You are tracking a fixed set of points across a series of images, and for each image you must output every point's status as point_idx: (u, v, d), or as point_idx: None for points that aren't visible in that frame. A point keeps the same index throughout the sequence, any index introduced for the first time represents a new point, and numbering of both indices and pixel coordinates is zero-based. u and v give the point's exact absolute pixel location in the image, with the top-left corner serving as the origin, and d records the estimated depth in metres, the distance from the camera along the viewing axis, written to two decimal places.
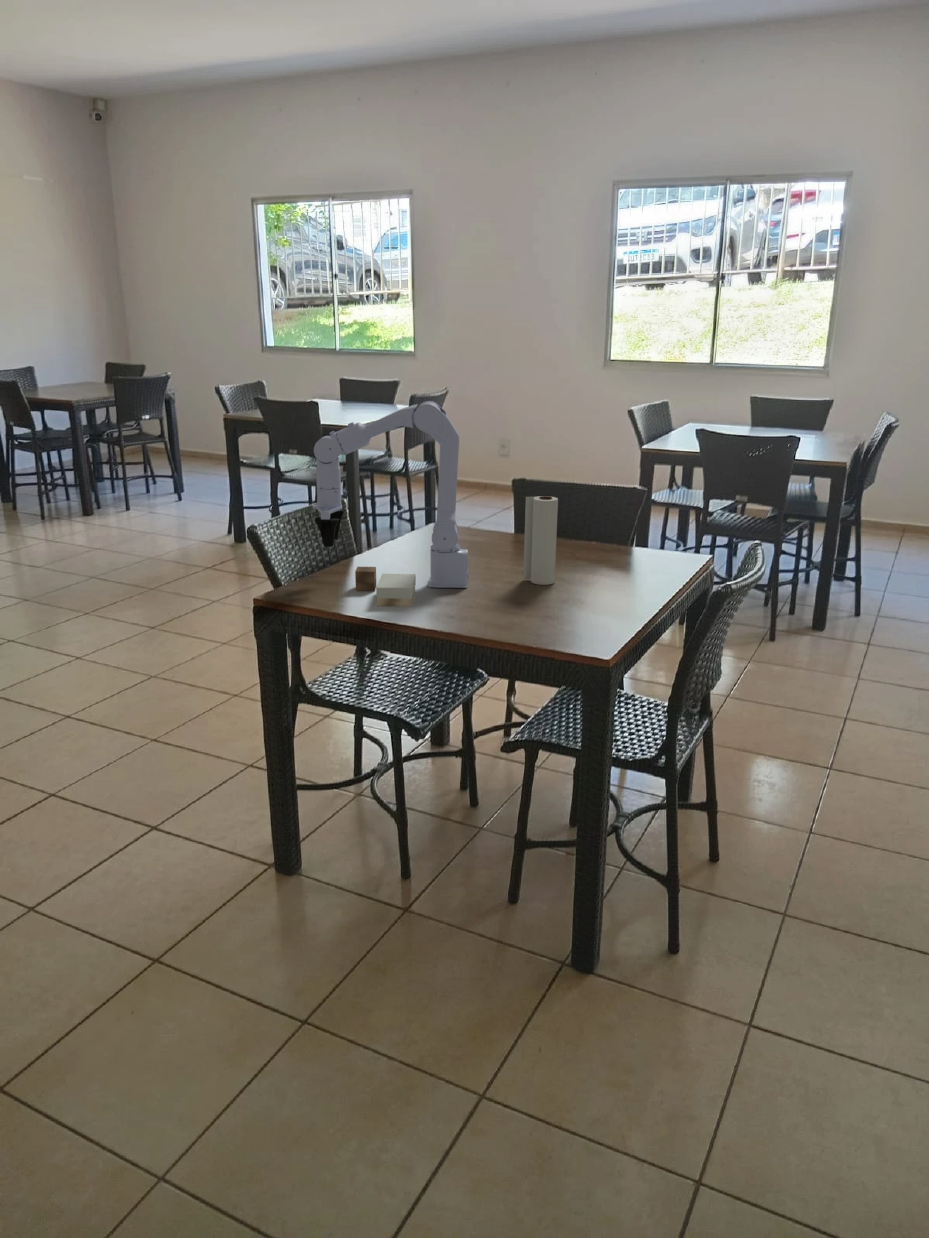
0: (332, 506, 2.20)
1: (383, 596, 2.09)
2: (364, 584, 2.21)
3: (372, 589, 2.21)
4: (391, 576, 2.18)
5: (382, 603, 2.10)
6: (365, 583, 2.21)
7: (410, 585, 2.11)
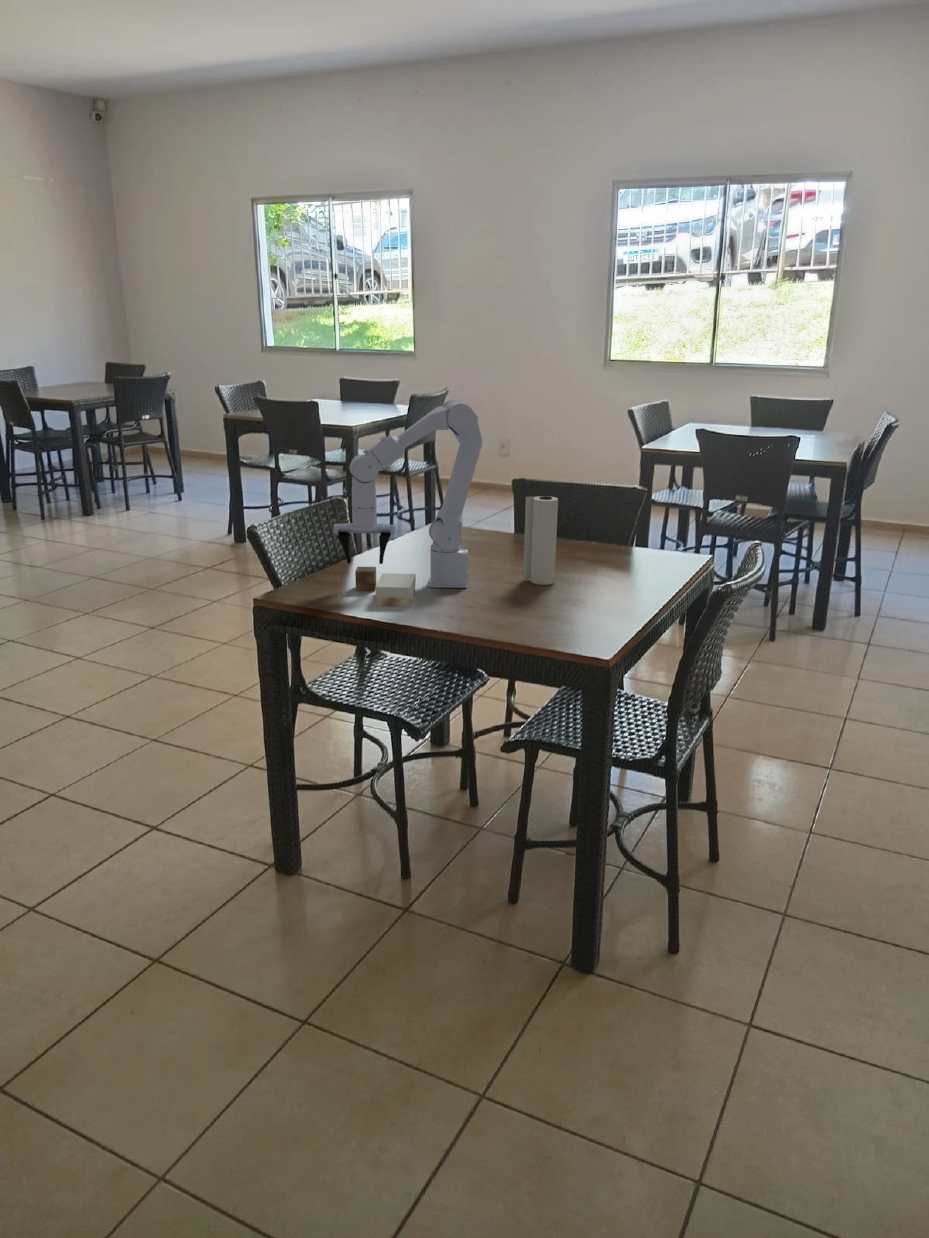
0: (353, 524, 2.17)
1: (382, 595, 2.09)
2: (364, 584, 2.21)
3: (372, 589, 2.21)
4: (391, 575, 2.18)
5: (382, 602, 2.10)
6: (365, 583, 2.21)
7: (409, 585, 2.11)
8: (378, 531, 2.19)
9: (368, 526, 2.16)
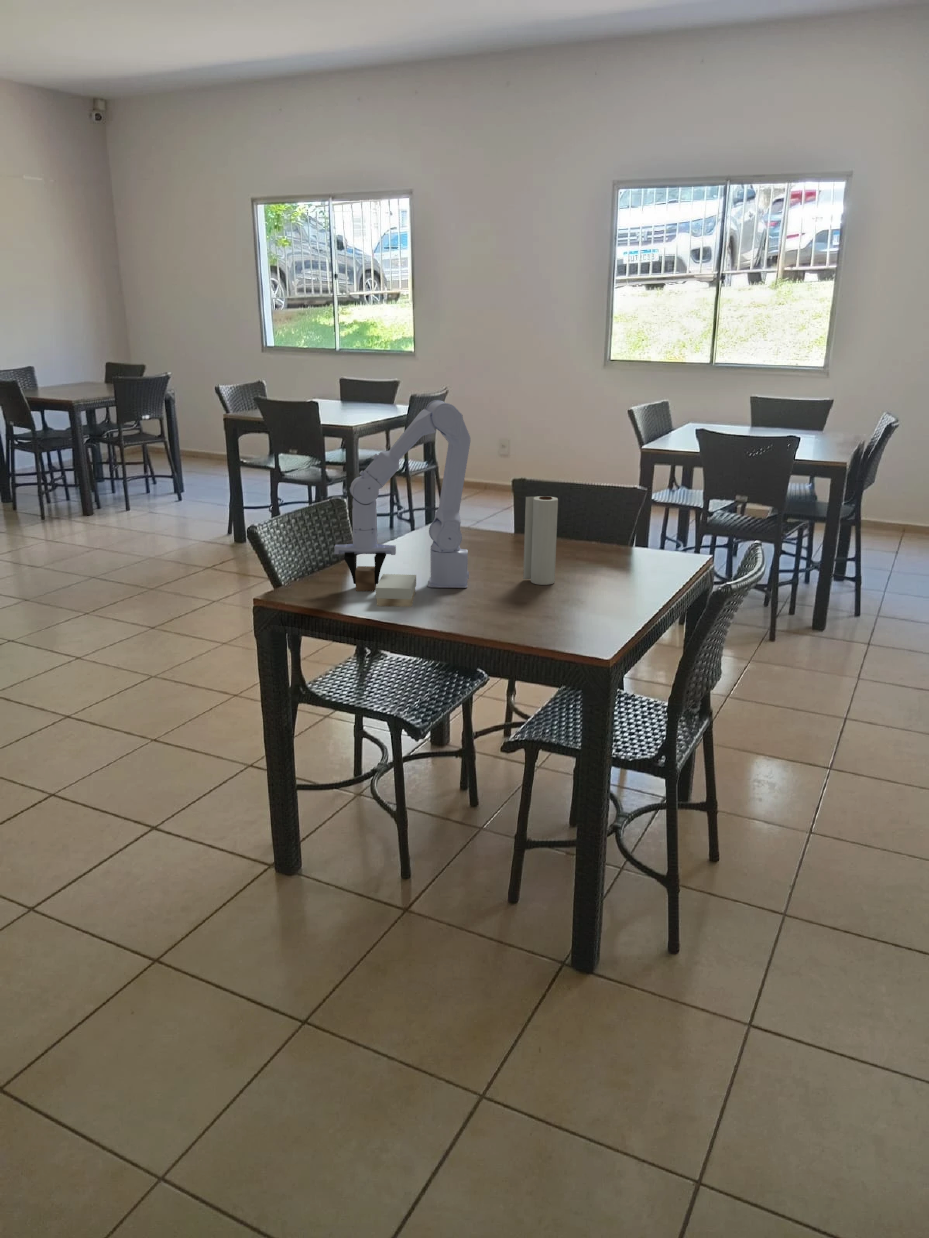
0: (353, 545, 2.19)
1: (382, 596, 2.09)
2: (364, 584, 2.21)
3: (372, 589, 2.21)
4: (391, 576, 2.18)
5: (382, 603, 2.10)
6: (365, 583, 2.21)
7: (409, 586, 2.11)
8: (379, 552, 2.20)
9: (369, 547, 2.18)
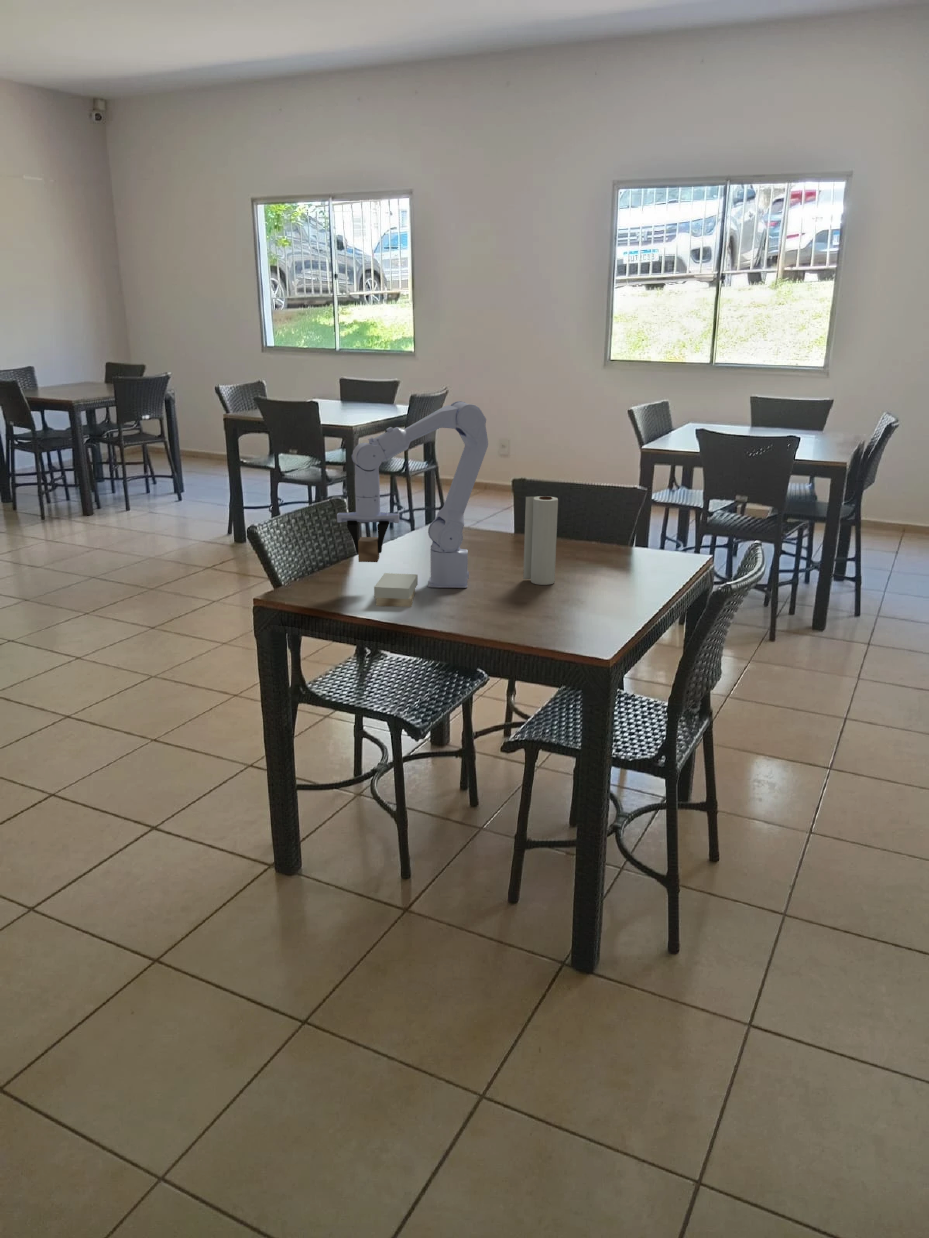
0: (356, 513, 2.15)
1: (381, 596, 2.10)
2: (367, 555, 2.17)
3: (375, 559, 2.18)
4: (392, 575, 2.18)
5: (381, 603, 2.10)
6: (367, 553, 2.17)
7: (408, 585, 2.10)
8: (382, 520, 2.17)
9: (371, 515, 2.14)
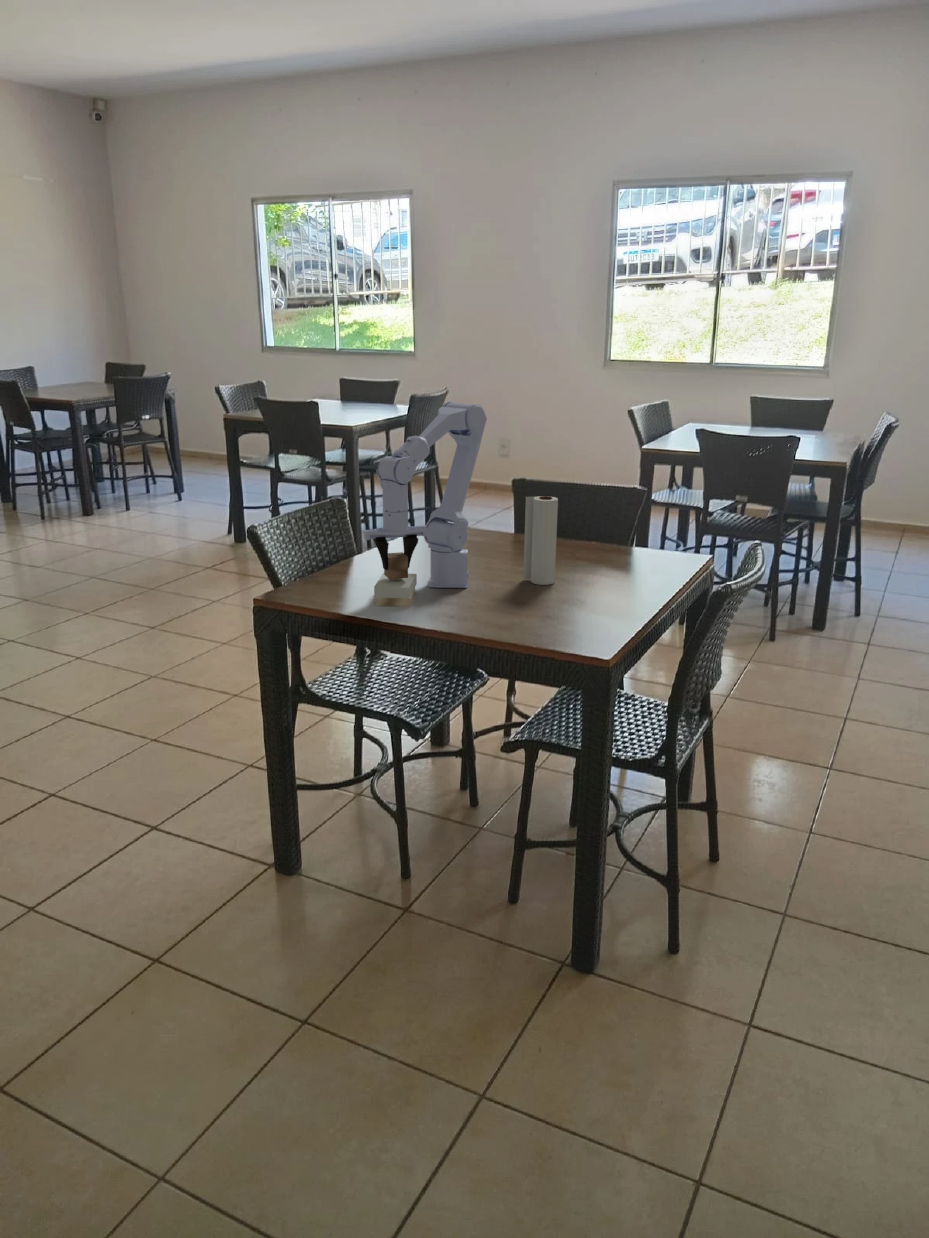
0: (386, 529, 2.09)
1: (381, 595, 2.10)
2: (398, 571, 2.12)
3: (406, 575, 2.12)
4: None
5: (381, 602, 2.10)
6: (398, 570, 2.12)
7: (408, 585, 2.10)
8: (409, 534, 2.12)
9: (403, 530, 2.09)
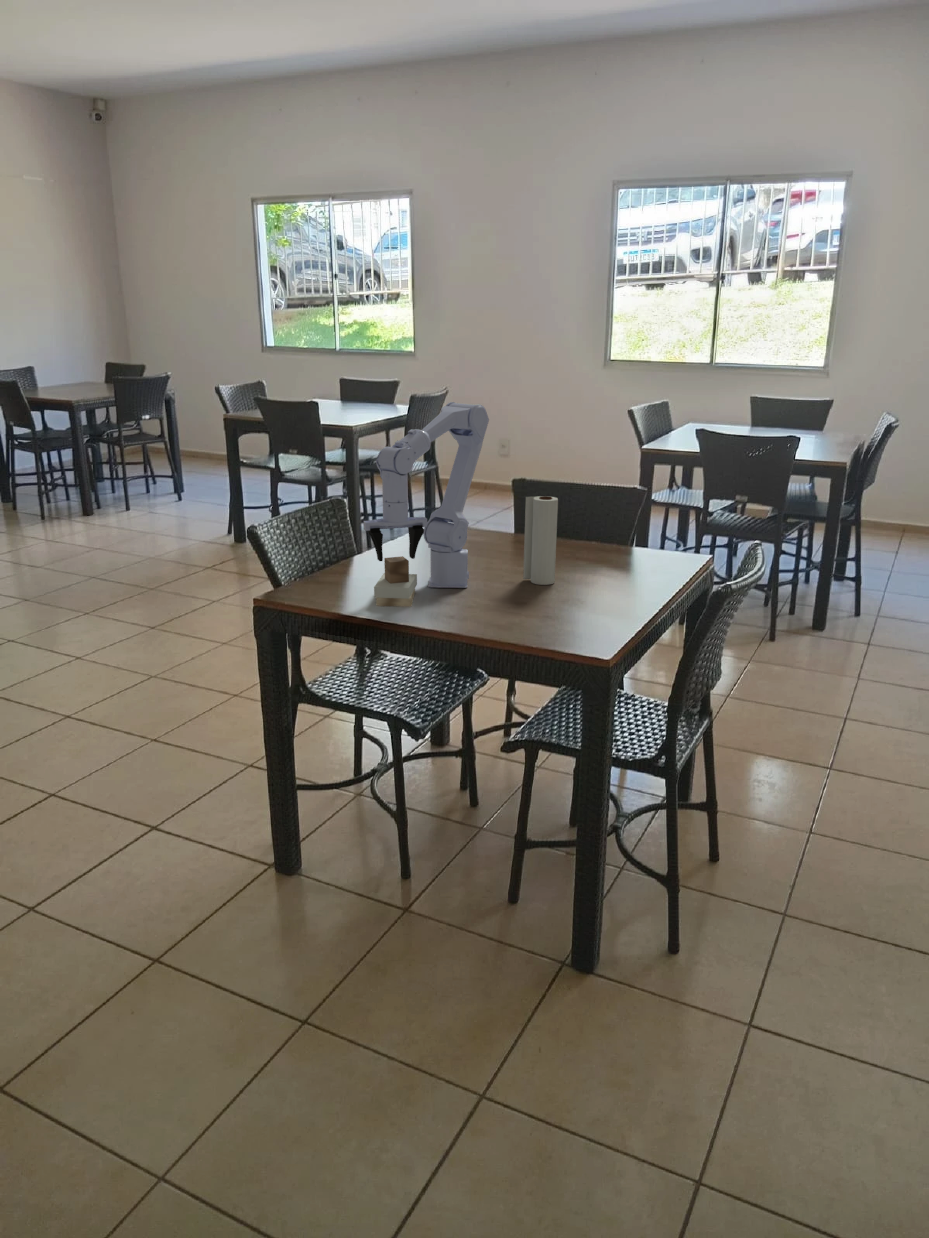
0: (385, 519, 2.08)
1: (381, 595, 2.10)
2: (399, 575, 2.12)
3: (406, 579, 2.13)
4: None
5: (381, 603, 2.10)
6: (399, 574, 2.12)
7: (408, 585, 2.10)
8: (409, 525, 2.11)
9: (403, 520, 2.08)
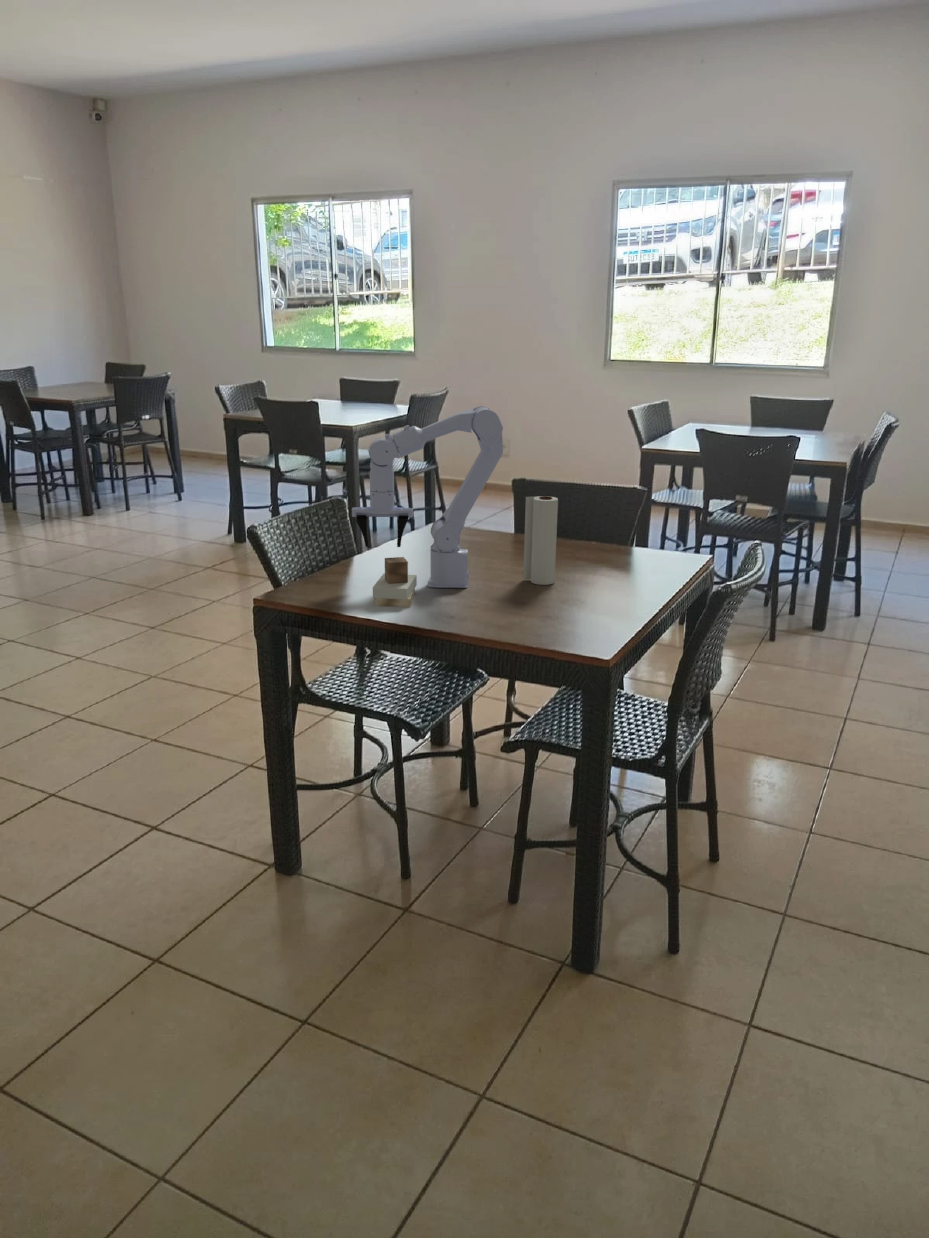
0: (371, 507, 2.19)
1: (379, 596, 2.10)
2: (398, 576, 2.12)
3: (405, 580, 2.13)
4: None
5: (380, 603, 2.10)
6: (398, 574, 2.12)
7: (407, 586, 2.10)
8: (396, 514, 2.20)
9: (386, 509, 2.18)
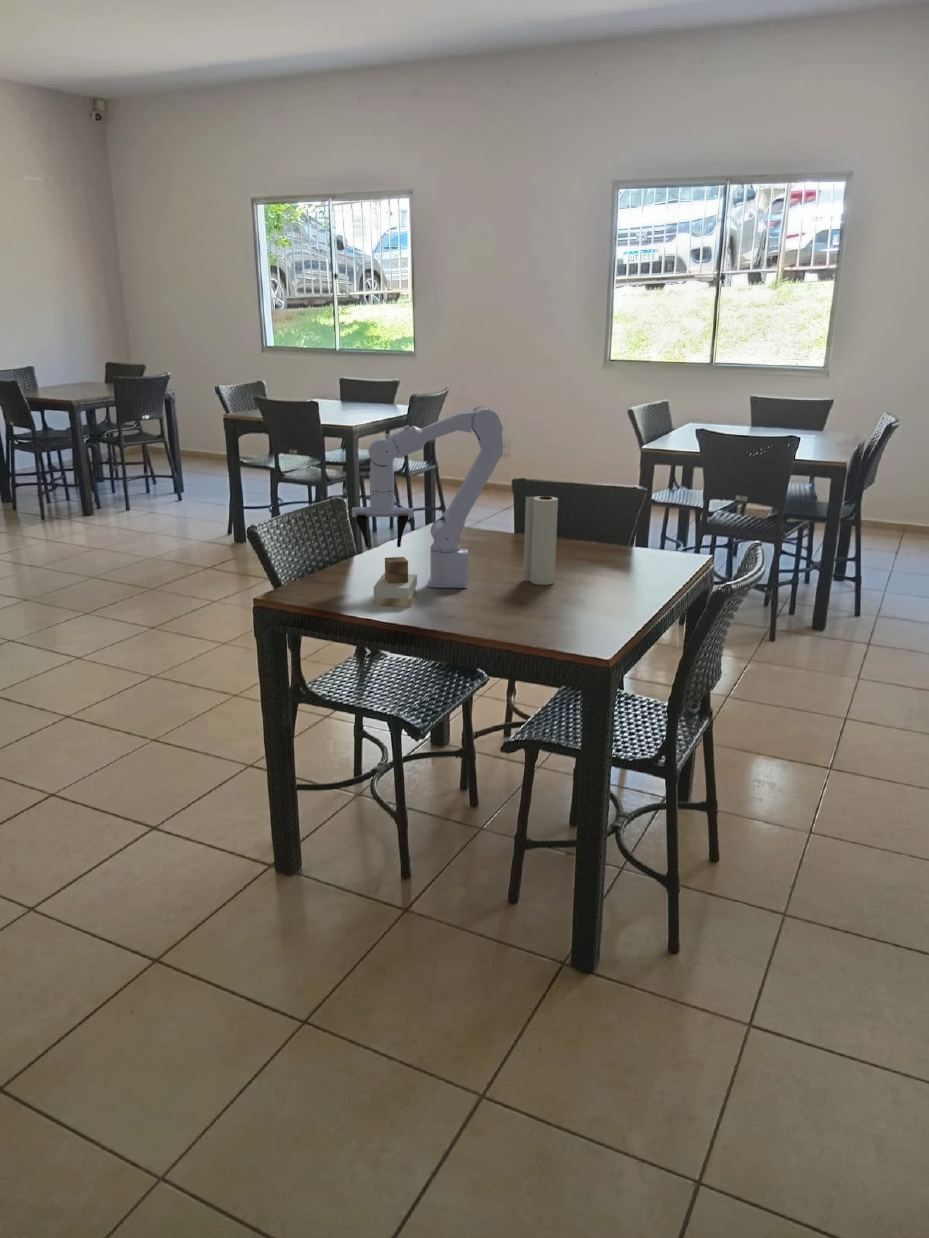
0: (371, 507, 2.19)
1: (380, 595, 2.10)
2: (398, 575, 2.12)
3: (406, 580, 2.13)
4: None
5: (381, 603, 2.10)
6: (398, 574, 2.12)
7: (408, 585, 2.10)
8: (396, 514, 2.20)
9: (386, 509, 2.18)
